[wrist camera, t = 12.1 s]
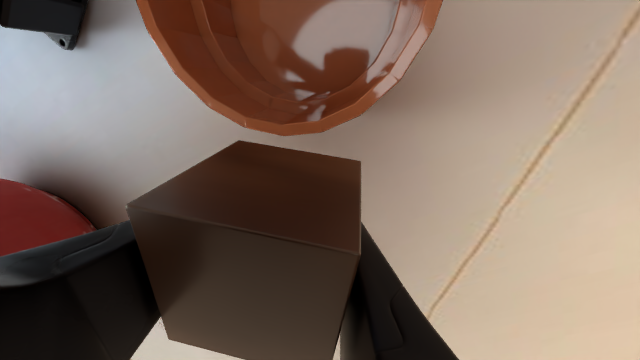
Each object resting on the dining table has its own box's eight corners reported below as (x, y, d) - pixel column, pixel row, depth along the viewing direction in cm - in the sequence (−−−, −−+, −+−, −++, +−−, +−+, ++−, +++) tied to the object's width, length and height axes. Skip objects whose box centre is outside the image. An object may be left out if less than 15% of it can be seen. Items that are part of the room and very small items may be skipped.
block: (243, 235, 11) (167, 340, 7) (238, 139, 9) (122, 204, 5) (340, 255, 11) (326, 382, 7) (361, 160, 9) (361, 254, 4)
